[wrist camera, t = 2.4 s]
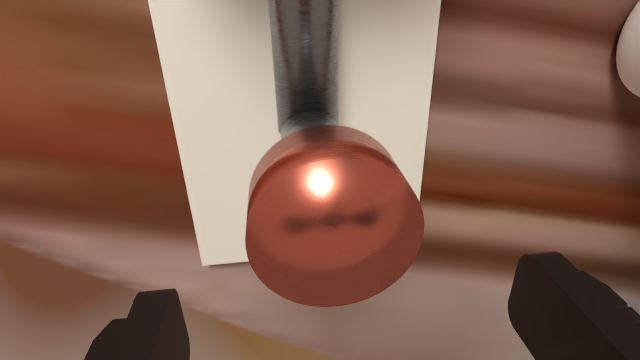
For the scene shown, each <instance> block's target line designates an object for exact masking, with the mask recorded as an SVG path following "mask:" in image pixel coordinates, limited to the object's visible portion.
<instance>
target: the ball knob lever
mask: <svg viewBox="0 0 640 360" xmlns="http://www.w3.org/2000/svg"><path fill="white" fill-rule="evenodd" d="M268 4H269V17H270V30H271V43H272V56H273V69H274V82H275V95H276V108H277V121H278V131H279V133H280V134H281V140H280V141H278V142H277V143H276V144H274V145H273V146H272V147H271V148H270V149H269V150H268V151H267V152H266V153H265V154H264V156H263V157H262V158H261V159H260V161H259V163H258V164H257V166H256V168H255V170H254V172H253V175H252V178H251V181H250V185H249V195H248V208H247V221H246V234H245V246H246V252H247V257H248V260H249V262H250V265H251V267H252V269H253V270H254V272H255V274H256V275H257V276H258V278H259V279H260V280H261V281H262V282H263V283H264V284H265V285H266V286H267V287H268V288H269V289H271V290H272V291H273V292H275V293H276V294H278V295H280V296H282V297H284V298H286V299H288V300H291V301H293V302H296V303H300V304H304V305H310V306H319V307H332V306H342V305H348V304H352V303H356V302H359V301H362V300H365V299H368V298H370V297H372V296H374V295H376V294H378V293H380V292H381V291H383V290H385V289H386V288H388V287H389V286H391V285H392V284H393V283H395V282H396V281H397V280H398V279H399V278H400V277H401V276H402V275H403V274H404V273H405V272H406V271H407V269H408V268H409V267H410V265H411V264H412V262H413V261H414V259H415V257H416V255H417V254H418V252H419V249H420V246H421V243H422V239H423V234H424V217H423V211H422V208H421V204H420V202H419V200H418V198H417V196H416V194H415V193H414V191H413V190H412V188H411V186H410V185H409V183H408V182H407V180H406V179H405V177H404V175H403V174H402V172H401V171H400V169H399V168H398V166H397V165H396V163H395V161H394V160H393V158H392V157H391V155H390V154H389V152H388V151H387V150H386V149H385V148H384V147H383V145H382V144H381V143H379V142H378V141H377V140H376V139H374V138H373V137H371V136H370V135H368V134H366V133H364V132H362V131H359V130H357V129H354V128H350V127H346V126H339V125H338V0H268Z"/></svg>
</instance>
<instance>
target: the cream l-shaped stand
mask: <svg viewBox="0 0 640 360" xmlns="http://www.w3.org/2000/svg"><path fill="white" fill-rule="evenodd" d="M148 3H149V8H150V13H151V17H152V22H153V27H154V32H155V37H156V42H157V47H158V51H159V56H160V61H161V66H162V71H163V76H164V81H165V86H166V90H167V95H168V100H169V105H170V110H171V115H172V120H173V124H174V129H175V134H176V139H177V144H178V149H179V154H180V159H181V163H182V168H183V173H184V178H185V183H186V188H187V193H188V197H189V202H190V207H191V212H192V217H193V222H194V227H195V232H196V236H197V241H198V246H199V251H200V256H201V261H202V266H204V265H215V264H226V263H237V262H248V261H249V260H248V257H247V252H246V246H245V234H246V221H247V208H248V195H249V185H250V181H251V178H252V175H253V172H254V170H255V168H256V166H257V164H258V163H259V161H260V159H261V158H262V157H263V156H264V154H265V153H266V152H267V151H268V150H269V149H270V148H271V147H272V146H273V145H274V144H276V143H277V142H278V141H280V140H281V134H280V133H279V131H278V121H277V108H276V95H275V82H274V69H273V56H272V43H271V30H270V17H269V4H268V0H148ZM440 6H441V0H338V125H339V126H346V127H350V128H354V129H357V130H359V131H362V132H364V133H366V134H368V135H370V136H371V137H373V138H374V139H376V140H377V141H378V142H379V143H381V144H382V145H383V147H384V148H385V149H386V150H387V151H388V152H389V154H390V155H391V157H392V158H393V160H394V161H395V163H396V165H397V166H398V168H399V169H400V171H401V172H402V174H403V175H404V177H405V179H406V180H407V182H408V183H409V185H410V186H411V188H412V190H413V191H414V193H415V194H416V196H417V198H418V200H420V191H421V181H422V172H423V163H424V154H425V144H426V135H427V126H428V117H429V107H430V98H431V89H432V80H433V70H434V61H435V52H436V43H437V33H438V24H439V15H440Z"/></svg>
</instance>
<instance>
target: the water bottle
mask: <svg viewBox="0 0 640 360" xmlns="http://www.w3.org/2000/svg"><path fill="white" fill-rule="evenodd" d="M616 65H617V70H618V74H619V77H620V79H621V81H622V82H623V84H624V85H625V86H626V88H627V89H628V90H629V91H631V92H632V93H633V94H635V95H636V96H638V97H640V0H639V1H638V3H637V4H636V5H635V7H634V8H633V10H632V11H631V13H630V14H629V16H628V18H627V20H626V22H625V24H624V26H623V28H622V31H621V33H620V36H619V40H618V44H617V51H616Z"/></svg>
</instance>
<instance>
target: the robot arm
mask: <svg viewBox="0 0 640 360" xmlns="http://www.w3.org/2000/svg"><path fill="white" fill-rule="evenodd" d="M508 313H509V318H510V321H511V323H512V325H513V328H514V329H515V331H516V332H517V334H518V335H519V337H520V338H521V339H522V341H523V342H524V344H525V345H526V347H527V348H528V350H529V351H530V353H531V354H532V355H533V357H534V358H535V360H640V315H639V314H638V313H637V312H636V311H635V310H634V309H633V308H631V307H628V306H627V303H626V302H625V301H624V300H623V299H622V298H621V297H620V296H619V295H618V294H616V293H615V292H614V291H613V290H612V289H611V288H610V287H609V286H608V285H606V284H604V283H603V282H601V281H599V280H597V279H596V278H594V277H592V276H591V275H589V274H587V273H585V272H584V271H579V270H578V269H576V268H575V267H574V266H573V265H572V264H571V263H570V262H569V261H568V260H567V259H566V258H565V257H564V256H563V255H562V254H560V253H558V252H545V253H535V254H526V255H523V256H521V257H520V259H519V261H518V265H517V269H516V273H515V277H514V281H513V285H512V289H511V293H510V297H509V301H508ZM84 360H190V343H189V336H188V332H187V328H186V325H185V320H184V317H183V312H182V308H181V304H180V300H179V296H178V293H177V291H176V290H175V289H165V290H155V291H145V292H139V293H138V294H137V295H136V297H135V299H134V302H133V304H132V307H131V309H130V312H129V314H128V317H127V318H123V319H115V320H112V321H111V322H110V323H109V324H108V325H107V326H106V327H105V328H104V329H103V330H102V331H101V333H100V334H99V335H98V336H97V337H96V338H95V339H94V340H93V342H92V344H91V346H90V348H89V351H88V353H87V355H86V357H85V359H84Z"/></svg>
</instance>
